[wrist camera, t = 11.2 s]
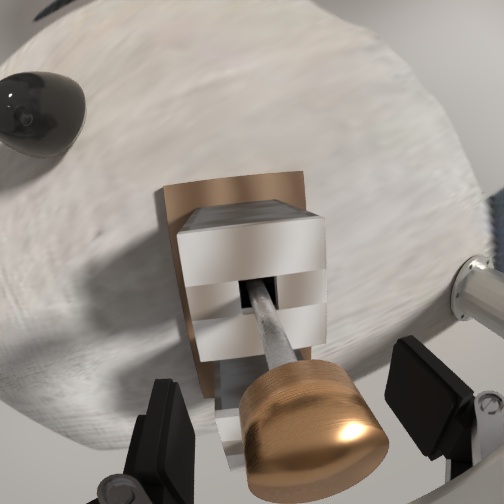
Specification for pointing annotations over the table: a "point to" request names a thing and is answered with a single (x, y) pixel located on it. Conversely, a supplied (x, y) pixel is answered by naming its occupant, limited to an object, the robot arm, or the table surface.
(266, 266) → the press station
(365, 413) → the copper plunger
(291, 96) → the table surface
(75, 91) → the pump dispenser
